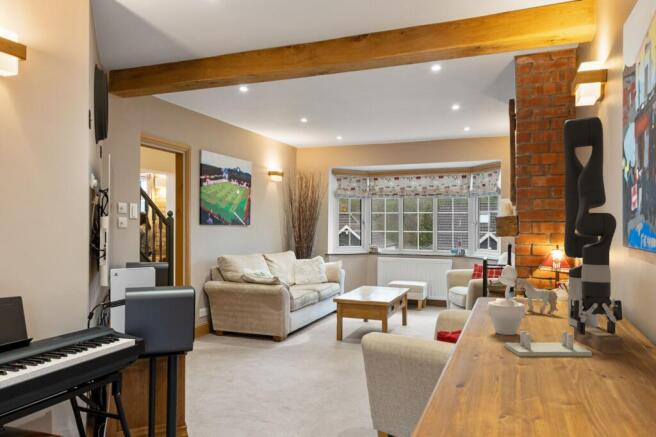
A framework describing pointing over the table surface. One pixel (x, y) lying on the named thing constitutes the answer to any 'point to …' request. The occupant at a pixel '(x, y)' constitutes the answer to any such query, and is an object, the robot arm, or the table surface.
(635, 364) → the table surface
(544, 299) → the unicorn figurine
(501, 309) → the potted plant
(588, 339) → the walnut shelf board
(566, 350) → the peg stand
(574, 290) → the robot arm
